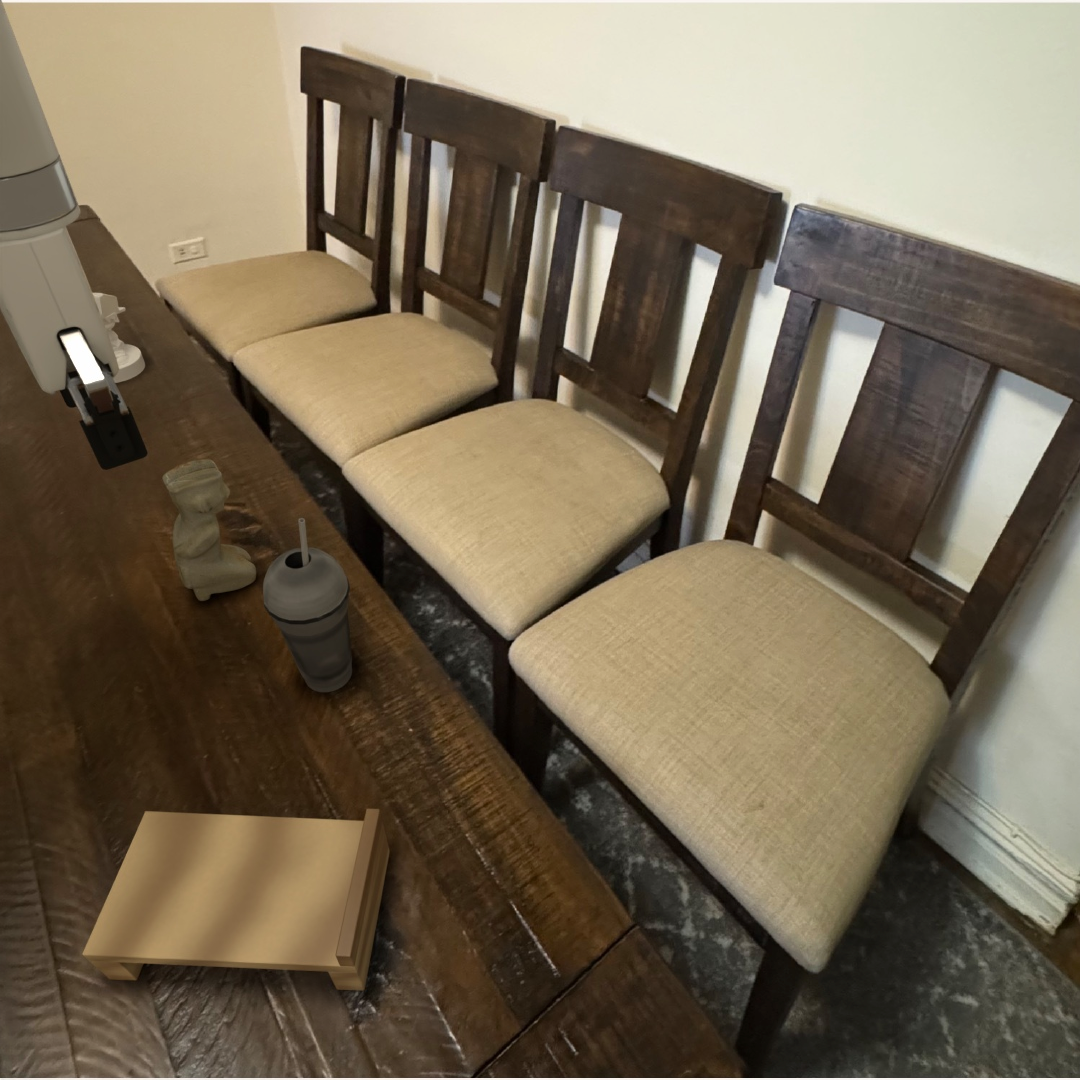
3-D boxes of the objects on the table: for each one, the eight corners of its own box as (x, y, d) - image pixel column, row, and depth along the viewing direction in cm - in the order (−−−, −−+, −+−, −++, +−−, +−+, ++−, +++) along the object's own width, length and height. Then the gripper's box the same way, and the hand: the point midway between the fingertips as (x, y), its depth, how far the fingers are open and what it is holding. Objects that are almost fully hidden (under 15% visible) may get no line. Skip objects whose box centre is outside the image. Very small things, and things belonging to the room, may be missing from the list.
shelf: (108, 979, 52) (68, 944, 47) (165, 840, 59) (136, 797, 55) (364, 991, 52) (350, 956, 47) (389, 850, 59) (379, 808, 55)
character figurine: (70, 382, 108) (34, 304, 100) (100, 350, 115) (69, 275, 107) (131, 385, 108) (100, 307, 100) (157, 352, 115) (130, 277, 107)
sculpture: (264, 589, 79) (228, 479, 69) (194, 614, 77) (146, 503, 66) (249, 556, 83) (213, 447, 73) (182, 579, 80) (135, 468, 70)
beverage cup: (306, 639, 75) (261, 484, 61) (376, 648, 74) (347, 494, 61) (277, 699, 69) (221, 544, 56) (352, 709, 69) (314, 555, 55)
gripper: (-89, 166, 48) (26, 394, 60) (-46, 256, 38) (83, 508, 50) (39, 148, 51) (124, 367, 63) (108, 227, 42) (195, 469, 53)
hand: (106, 429), depth 57 cm, fingers open, 9 cm apart
